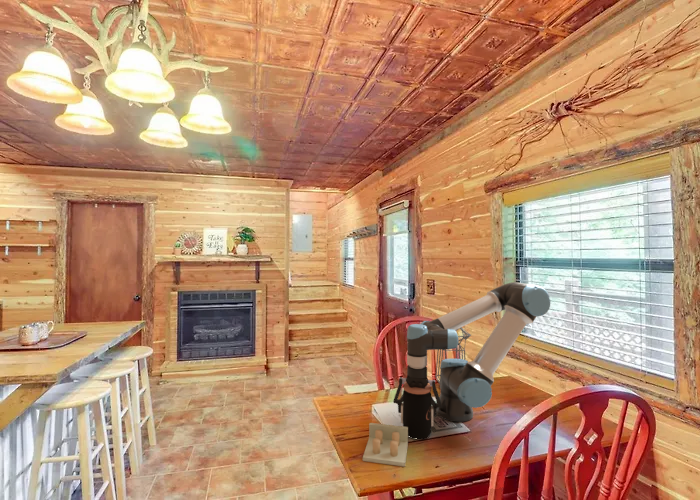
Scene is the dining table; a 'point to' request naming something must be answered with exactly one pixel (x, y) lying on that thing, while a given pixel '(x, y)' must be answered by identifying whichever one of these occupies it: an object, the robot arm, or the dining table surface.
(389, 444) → the peg stand
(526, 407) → the dining table surface
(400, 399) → the robot arm
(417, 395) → the coffee jar
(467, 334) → the geometric lantern
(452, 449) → the dining table surface
